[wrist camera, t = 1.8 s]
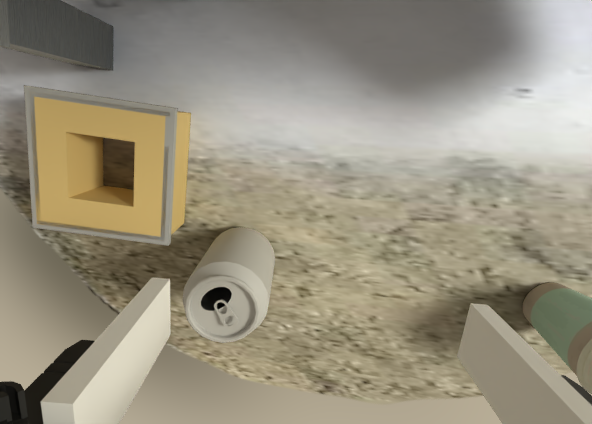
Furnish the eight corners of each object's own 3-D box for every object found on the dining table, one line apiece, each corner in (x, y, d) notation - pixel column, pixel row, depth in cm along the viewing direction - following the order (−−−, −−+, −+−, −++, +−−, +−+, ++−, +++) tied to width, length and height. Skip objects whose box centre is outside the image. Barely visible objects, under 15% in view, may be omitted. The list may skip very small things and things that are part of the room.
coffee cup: (515, 342, 43) (597, 425, 31) (506, 282, 41) (590, 348, 29) (585, 324, 42) (695, 402, 30) (579, 263, 40) (695, 322, 28)
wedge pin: (68, 16, 33) (-90, -55, 19) (116, 23, 33) (-7, -41, 20) (69, 66, 34) (-79, 33, 21) (115, 73, 34) (-1, 45, 21)
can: (250, 212, 38) (231, 253, 27) (288, 263, 40) (285, 323, 28) (197, 246, 39) (157, 300, 28) (236, 295, 41) (212, 365, 29)
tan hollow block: (69, 90, 35) (23, 85, 29) (195, 109, 35) (175, 108, 29) (72, 210, 38) (32, 227, 32) (187, 226, 39) (168, 245, 33)
